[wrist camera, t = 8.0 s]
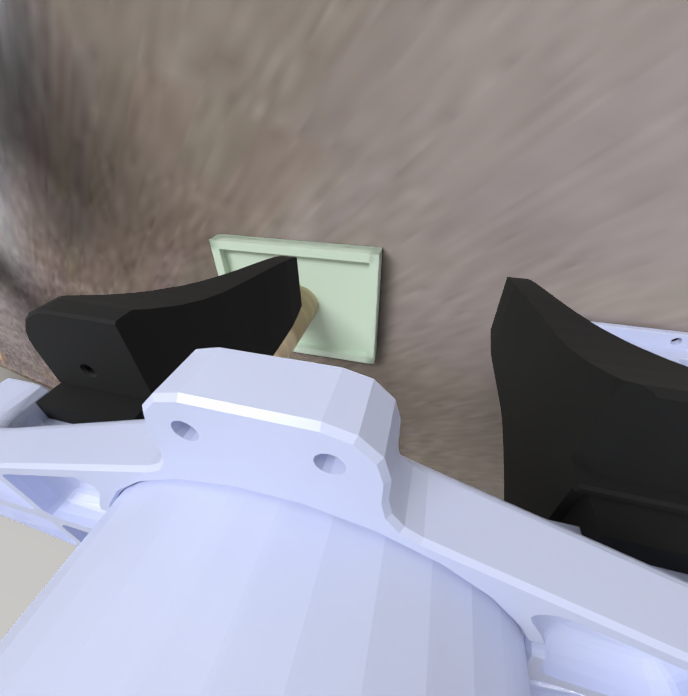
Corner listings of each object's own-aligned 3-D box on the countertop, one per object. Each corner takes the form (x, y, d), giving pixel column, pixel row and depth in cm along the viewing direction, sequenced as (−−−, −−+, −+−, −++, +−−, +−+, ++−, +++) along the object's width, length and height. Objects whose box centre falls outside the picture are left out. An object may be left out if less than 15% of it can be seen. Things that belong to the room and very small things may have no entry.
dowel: (316, 286, 24) (259, 366, 17) (320, 321, 26) (270, 406, 19) (277, 283, 25) (209, 359, 18) (284, 317, 26) (224, 398, 20)
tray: (382, 247, 22) (379, 254, 21) (376, 354, 27) (373, 364, 26) (218, 233, 24) (208, 239, 23) (243, 334, 30) (236, 342, 29)
